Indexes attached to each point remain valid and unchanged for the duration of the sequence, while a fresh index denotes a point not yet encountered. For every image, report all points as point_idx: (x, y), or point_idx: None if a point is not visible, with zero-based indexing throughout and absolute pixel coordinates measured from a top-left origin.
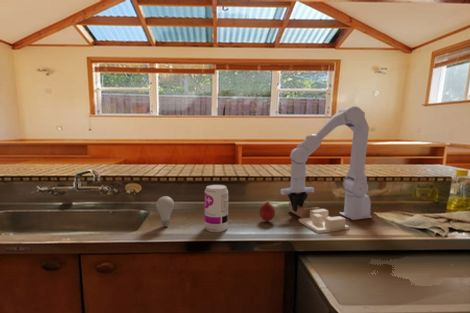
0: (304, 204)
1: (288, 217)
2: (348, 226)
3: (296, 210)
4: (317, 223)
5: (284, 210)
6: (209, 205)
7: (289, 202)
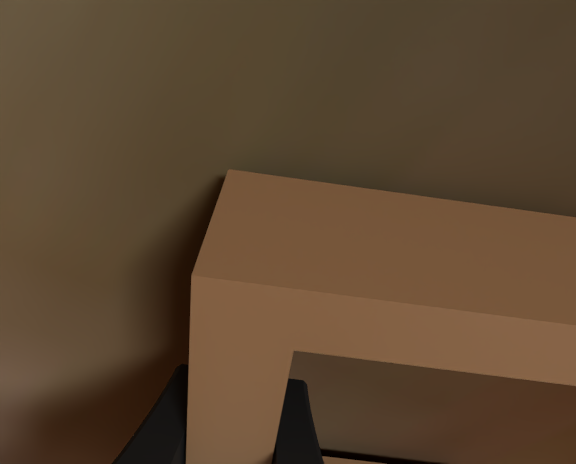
0: None
1: (83, 351)
2: None
3: None
4: None
5: (191, 56)
6: None
7: (200, 287)
